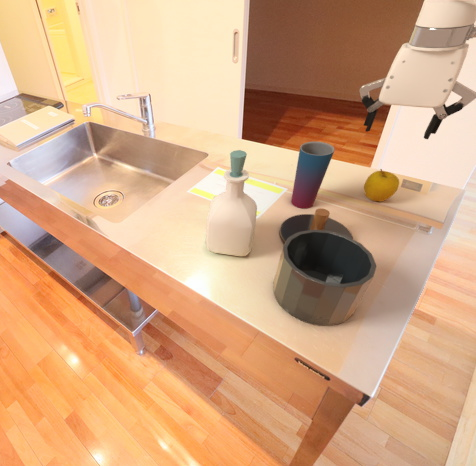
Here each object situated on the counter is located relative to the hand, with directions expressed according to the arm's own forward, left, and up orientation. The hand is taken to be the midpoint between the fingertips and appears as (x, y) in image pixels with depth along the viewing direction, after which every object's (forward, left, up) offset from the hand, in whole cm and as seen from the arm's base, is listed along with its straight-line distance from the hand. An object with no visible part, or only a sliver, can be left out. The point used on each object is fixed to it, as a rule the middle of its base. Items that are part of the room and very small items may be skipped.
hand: (396, 132), depth 65 cm
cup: (+12, +5, -19) cm, 23 cm away
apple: (-2, -4, -19) cm, 19 cm away
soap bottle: (+21, +28, -19) cm, 40 cm away
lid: (+7, +17, -18) cm, 26 cm away
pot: (+2, +34, -18) cm, 39 cm away
